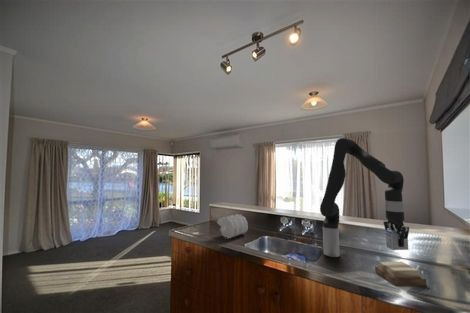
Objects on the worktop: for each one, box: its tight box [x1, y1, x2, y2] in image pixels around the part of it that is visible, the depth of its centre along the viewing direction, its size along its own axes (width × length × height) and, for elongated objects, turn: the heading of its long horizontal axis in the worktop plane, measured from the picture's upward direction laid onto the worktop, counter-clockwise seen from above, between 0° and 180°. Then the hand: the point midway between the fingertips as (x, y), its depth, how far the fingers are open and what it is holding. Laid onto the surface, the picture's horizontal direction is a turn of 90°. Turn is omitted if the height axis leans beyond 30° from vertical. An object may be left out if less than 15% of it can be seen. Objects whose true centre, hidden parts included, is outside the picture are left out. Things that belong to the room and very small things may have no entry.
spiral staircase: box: [216, 213, 249, 239], centre depth 175 cm, size 18×18×25 cm
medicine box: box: [385, 230, 409, 251], centre depth 104 cm, size 8×4×9 cm, turn 92°
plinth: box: [374, 261, 428, 287], centre depth 103 cm, size 14×14×6 cm
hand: (397, 244), depth 104 cm, fingers closed on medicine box, 4 cm apart
